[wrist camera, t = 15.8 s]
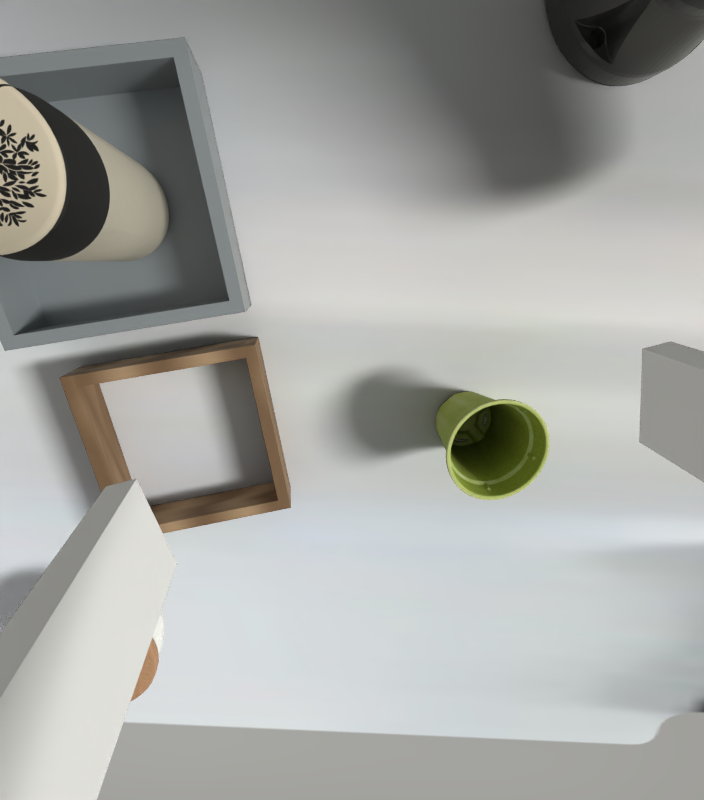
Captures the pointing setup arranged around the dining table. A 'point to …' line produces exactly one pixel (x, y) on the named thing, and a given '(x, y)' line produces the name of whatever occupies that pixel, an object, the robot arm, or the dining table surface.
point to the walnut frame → (109, 456)
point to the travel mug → (71, 189)
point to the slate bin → (171, 166)
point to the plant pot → (492, 444)
